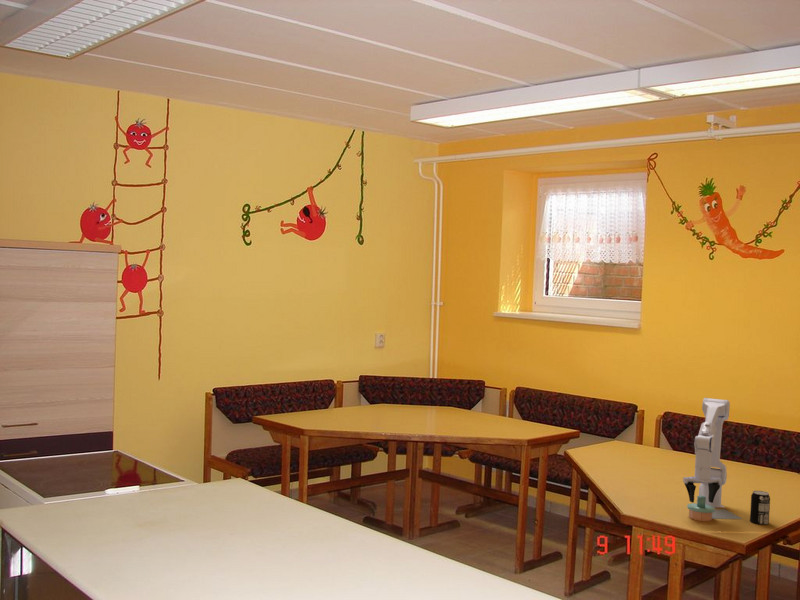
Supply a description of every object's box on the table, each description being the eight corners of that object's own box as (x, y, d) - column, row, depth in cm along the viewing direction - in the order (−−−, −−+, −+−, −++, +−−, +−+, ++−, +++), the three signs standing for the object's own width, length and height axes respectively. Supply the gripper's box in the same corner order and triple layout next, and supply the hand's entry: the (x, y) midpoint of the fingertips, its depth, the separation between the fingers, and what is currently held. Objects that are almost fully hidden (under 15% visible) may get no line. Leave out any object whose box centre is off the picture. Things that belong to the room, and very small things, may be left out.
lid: (683, 504, 318) (683, 492, 318) (708, 505, 318) (709, 493, 318) (693, 512, 308) (693, 499, 308) (719, 513, 308) (719, 500, 308)
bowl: (686, 516, 317) (686, 505, 317) (705, 516, 318) (705, 506, 318) (695, 522, 309) (695, 511, 309) (714, 522, 310) (715, 511, 310)
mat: (697, 510, 326) (697, 508, 326) (725, 510, 327) (725, 509, 327) (712, 520, 313) (712, 518, 313) (742, 520, 314) (742, 518, 314)
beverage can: (752, 520, 315) (754, 489, 315) (770, 523, 311) (772, 492, 311) (747, 523, 310) (749, 492, 310) (765, 527, 306) (767, 495, 306)
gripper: (689, 468, 308) (687, 504, 309) (726, 469, 310) (724, 505, 310) (681, 464, 315) (679, 499, 316) (717, 465, 317) (715, 500, 317)
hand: (701, 501), depth 313 cm, fingers open, 7 cm apart
